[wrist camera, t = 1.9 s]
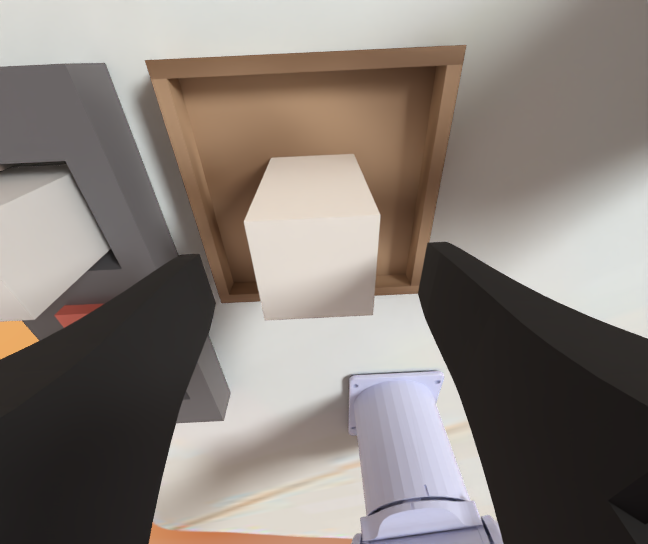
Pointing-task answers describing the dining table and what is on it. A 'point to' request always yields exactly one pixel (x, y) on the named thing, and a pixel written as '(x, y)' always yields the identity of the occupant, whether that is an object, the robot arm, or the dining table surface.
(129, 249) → the power strip
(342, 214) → the white plug
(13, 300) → the seated plug
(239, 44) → the dining table surface
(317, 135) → the tray
